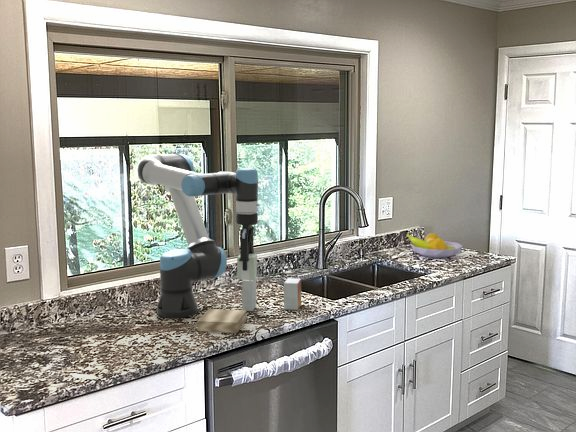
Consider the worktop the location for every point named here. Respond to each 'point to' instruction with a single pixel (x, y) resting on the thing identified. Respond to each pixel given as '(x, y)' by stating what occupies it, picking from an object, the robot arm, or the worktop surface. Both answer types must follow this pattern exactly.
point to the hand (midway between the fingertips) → (247, 276)
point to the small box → (292, 294)
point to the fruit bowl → (434, 246)
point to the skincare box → (248, 295)
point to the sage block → (251, 267)
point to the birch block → (222, 320)
